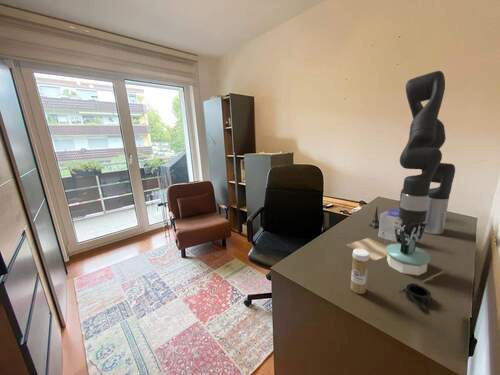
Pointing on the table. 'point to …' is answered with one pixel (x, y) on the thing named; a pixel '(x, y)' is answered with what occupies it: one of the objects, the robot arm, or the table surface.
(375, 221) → the eiffel tower figurine
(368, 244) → the mat
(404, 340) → the table surface
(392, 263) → the bowl
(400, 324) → the table surface
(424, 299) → the duct tape
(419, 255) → the lid
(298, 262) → the table surface
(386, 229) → the ink cartridge box
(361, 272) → the sprinkles bottle
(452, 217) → the table surface
